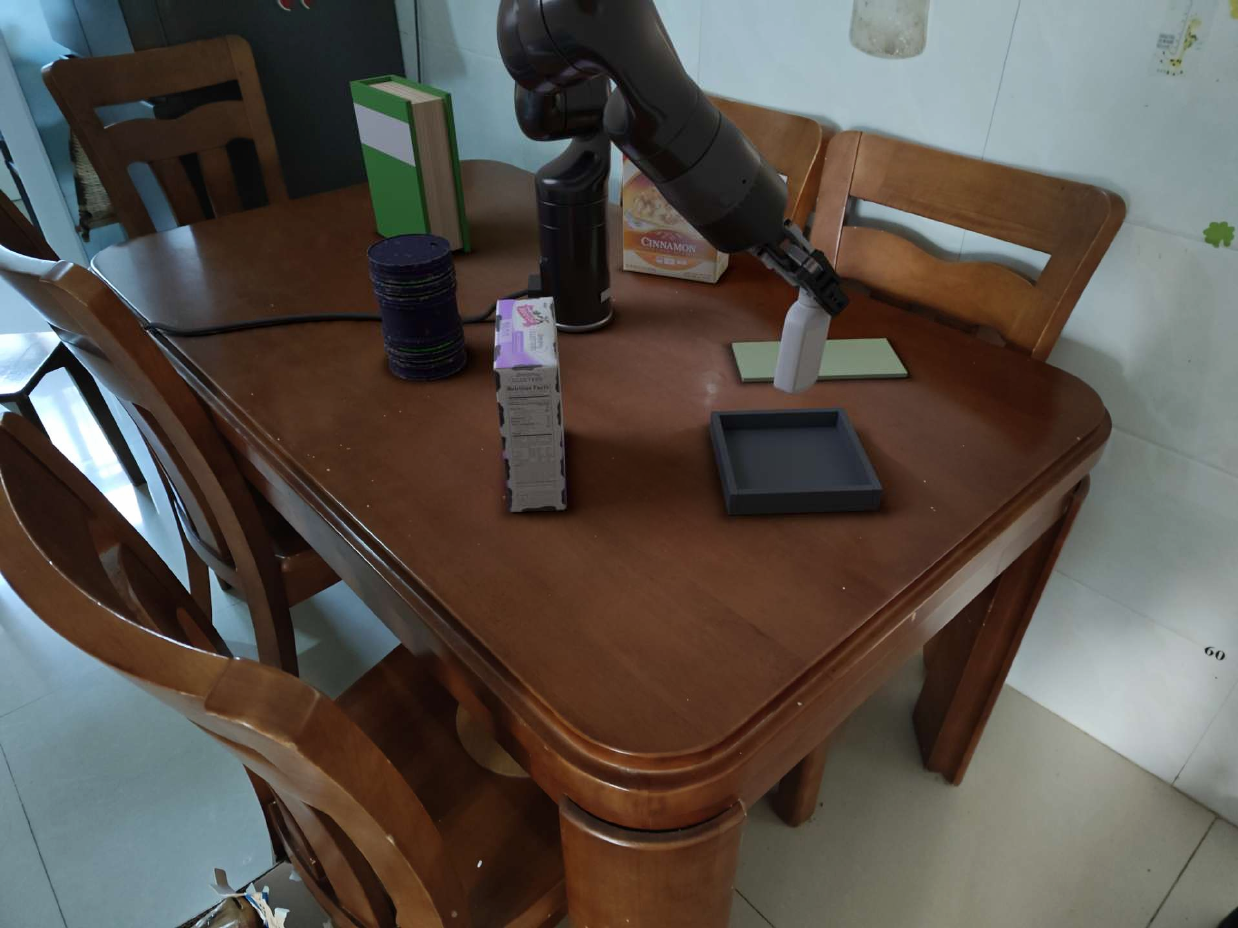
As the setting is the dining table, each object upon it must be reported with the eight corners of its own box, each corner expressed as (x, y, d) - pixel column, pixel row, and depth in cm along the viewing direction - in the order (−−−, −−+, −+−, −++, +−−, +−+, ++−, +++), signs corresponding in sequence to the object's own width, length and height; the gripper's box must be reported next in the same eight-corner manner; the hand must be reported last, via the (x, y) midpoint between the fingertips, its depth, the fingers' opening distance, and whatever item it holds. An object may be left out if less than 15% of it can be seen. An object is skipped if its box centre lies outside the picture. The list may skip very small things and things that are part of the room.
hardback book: (470, 251, 134) (450, 93, 120) (430, 263, 130) (405, 101, 116) (416, 222, 145) (392, 74, 131) (378, 233, 141) (349, 82, 127)
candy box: (511, 434, 91) (495, 297, 81) (564, 431, 92) (555, 294, 82) (508, 514, 80) (490, 366, 70) (568, 510, 80) (559, 362, 71)
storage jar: (400, 388, 100) (377, 272, 91) (379, 354, 107) (356, 242, 98) (478, 368, 103) (463, 254, 94) (453, 336, 110) (437, 227, 101)
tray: (728, 515, 80) (730, 494, 78) (709, 430, 91) (710, 411, 90) (878, 510, 80) (883, 489, 78) (840, 426, 92) (843, 406, 90)
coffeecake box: (622, 270, 127) (620, 139, 115) (638, 254, 132) (638, 126, 121) (715, 285, 122) (723, 149, 111) (728, 266, 128) (737, 135, 116)
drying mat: (742, 382, 100) (743, 378, 99) (731, 346, 107) (732, 342, 107) (906, 377, 100) (907, 373, 100) (884, 342, 107) (885, 338, 107)
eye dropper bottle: (833, 387, 79) (860, 271, 71) (783, 399, 77) (805, 281, 69) (808, 364, 82) (831, 251, 74) (759, 375, 80) (777, 260, 72)
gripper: (799, 169, 58) (906, 298, 69) (708, 120, 69) (813, 239, 80) (727, 252, 60) (843, 366, 71) (649, 192, 70) (760, 299, 81)
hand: (827, 298), depth 75 cm, fingers closed on eye dropper bottle, 3 cm apart
